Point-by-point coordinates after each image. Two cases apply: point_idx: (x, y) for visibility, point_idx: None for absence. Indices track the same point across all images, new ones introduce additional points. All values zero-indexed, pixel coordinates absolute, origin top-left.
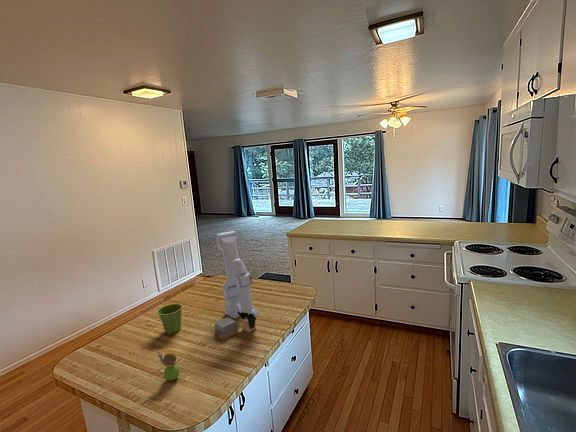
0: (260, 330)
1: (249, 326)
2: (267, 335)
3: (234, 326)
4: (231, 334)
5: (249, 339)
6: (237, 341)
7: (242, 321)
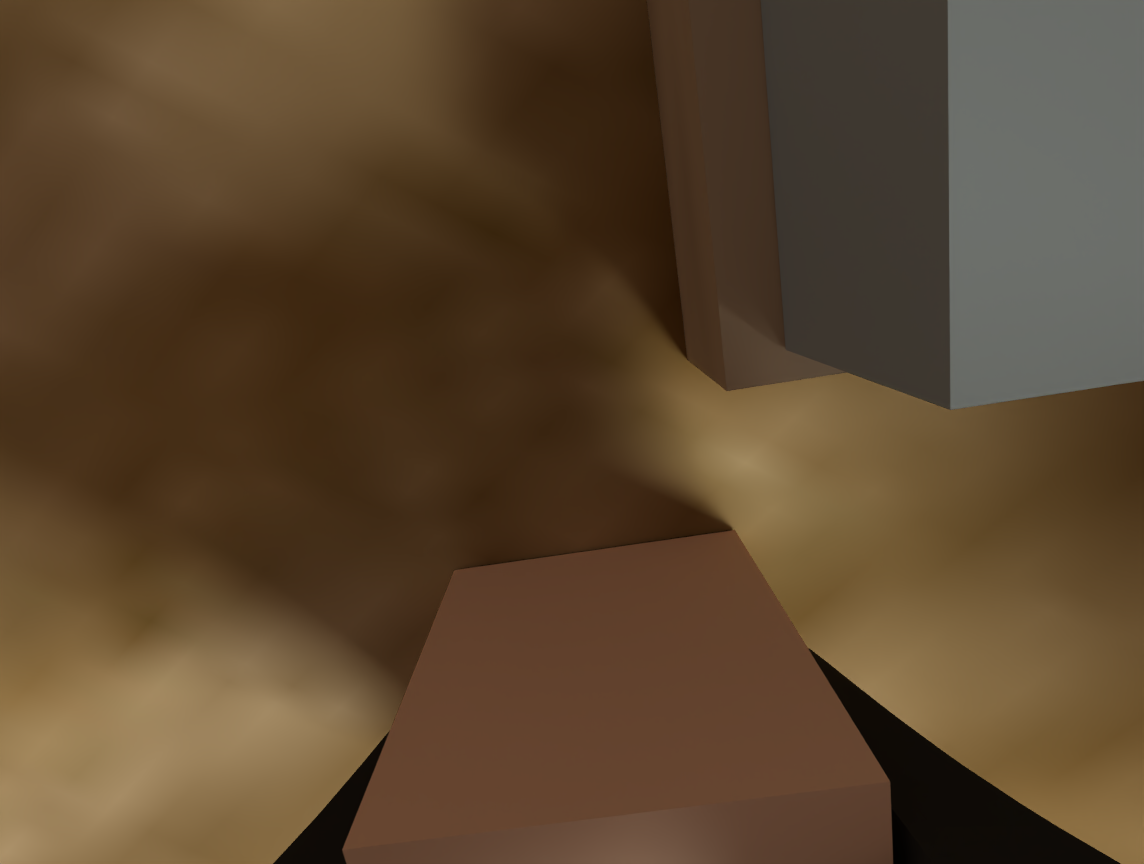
0: None
1: None
2: (8, 831)
3: (805, 259)
4: (662, 64)
5: (85, 426)
6: (193, 80)
7: (781, 723)
